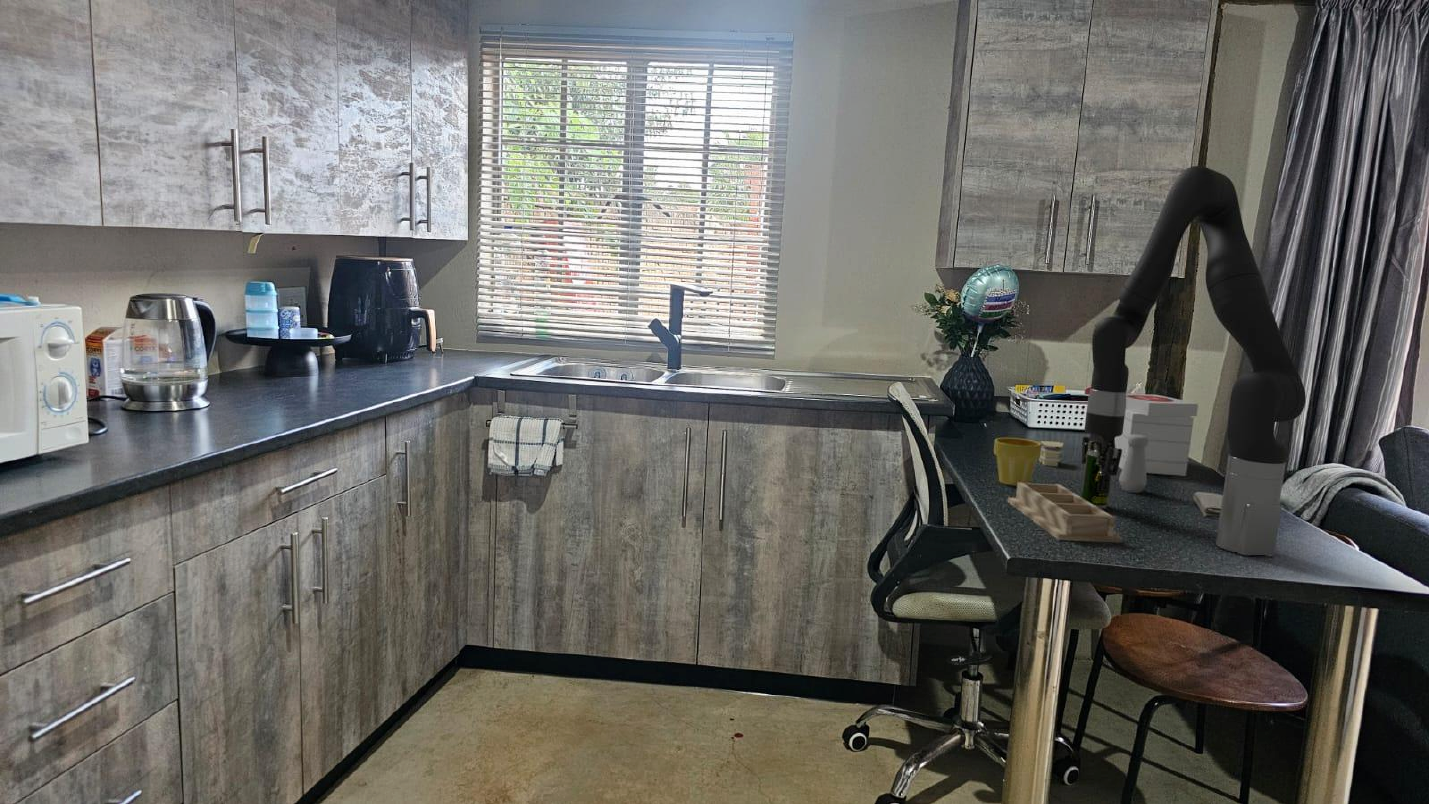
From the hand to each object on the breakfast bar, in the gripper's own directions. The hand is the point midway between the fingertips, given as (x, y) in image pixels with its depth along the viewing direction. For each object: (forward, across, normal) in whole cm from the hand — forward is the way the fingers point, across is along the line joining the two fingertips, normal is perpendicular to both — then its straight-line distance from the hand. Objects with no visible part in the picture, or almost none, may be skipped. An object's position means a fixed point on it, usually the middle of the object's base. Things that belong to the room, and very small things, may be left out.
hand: (1095, 489), depth 208 cm
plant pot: (+4, +18, +11) cm, 21 cm away
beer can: (+4, 0, 0) cm, 4 cm away
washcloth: (+4, +1, -30) cm, 30 cm away
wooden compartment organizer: (+3, -14, +13) cm, 19 cm away
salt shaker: (+4, +16, -16) cm, 23 cm away
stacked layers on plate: (+4, +43, -8) cm, 44 cm away
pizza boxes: (+4, +50, -34) cm, 60 cm away
